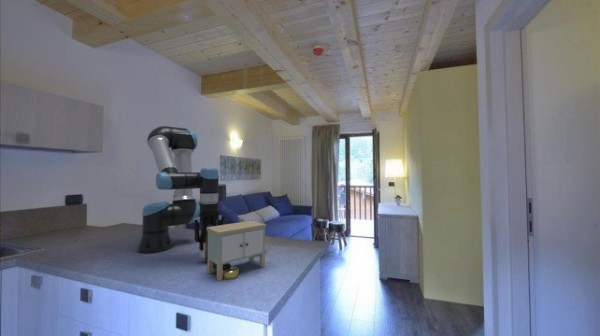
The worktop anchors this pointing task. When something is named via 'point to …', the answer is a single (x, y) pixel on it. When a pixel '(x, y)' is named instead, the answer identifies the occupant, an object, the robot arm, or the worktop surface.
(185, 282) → the worktop surface
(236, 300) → the worktop surface
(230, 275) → the token
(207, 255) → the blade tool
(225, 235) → the cabinet
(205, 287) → the worktop surface
